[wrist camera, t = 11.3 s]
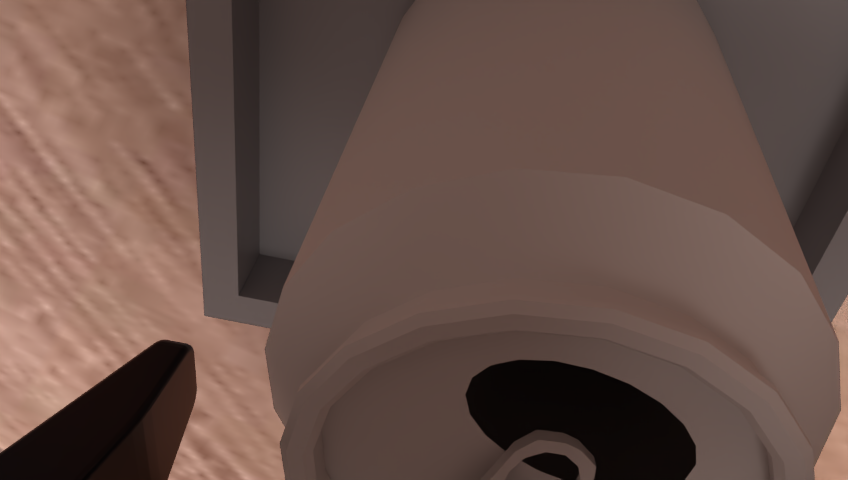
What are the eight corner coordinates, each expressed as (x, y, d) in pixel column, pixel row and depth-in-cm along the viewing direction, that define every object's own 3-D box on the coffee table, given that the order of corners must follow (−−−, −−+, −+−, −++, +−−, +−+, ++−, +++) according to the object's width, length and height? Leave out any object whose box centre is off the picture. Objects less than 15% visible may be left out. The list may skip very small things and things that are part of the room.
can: (788, 27, 17) (1067, 484, 8) (590, 255, 22) (612, 731, 12) (491, -155, 16) (387, 125, 6) (344, 126, 20) (149, 545, 11)
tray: (753, 359, 24) (770, 423, 22) (233, 261, 24) (204, 315, 22) (1087, -267, 14) (1174, -255, 12) (215, -404, 15) (161, -413, 13)
